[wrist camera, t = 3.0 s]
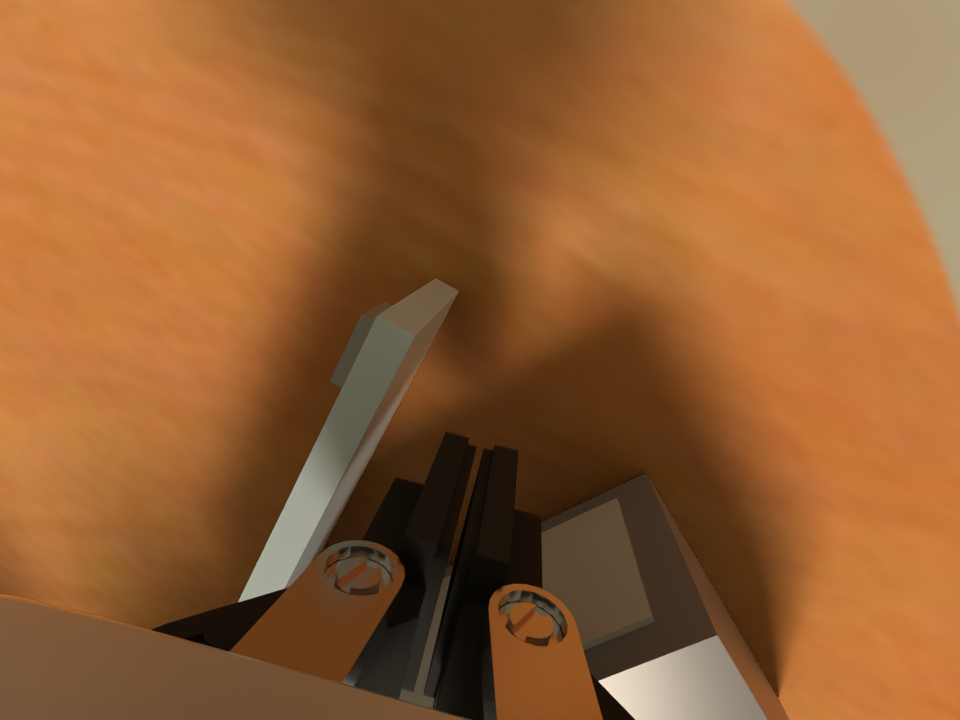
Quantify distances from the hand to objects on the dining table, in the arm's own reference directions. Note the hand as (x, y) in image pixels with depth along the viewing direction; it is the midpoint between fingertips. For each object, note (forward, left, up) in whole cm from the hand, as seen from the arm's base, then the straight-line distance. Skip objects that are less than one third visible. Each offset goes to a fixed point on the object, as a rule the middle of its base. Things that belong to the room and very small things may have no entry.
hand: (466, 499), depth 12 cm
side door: (-5, +1, -3) cm, 6 cm away
